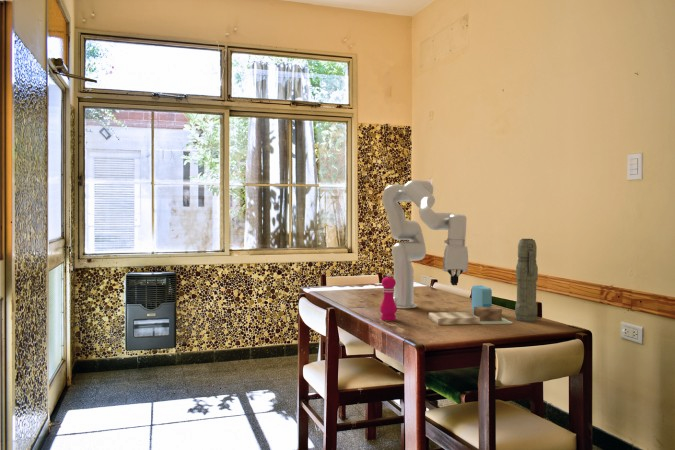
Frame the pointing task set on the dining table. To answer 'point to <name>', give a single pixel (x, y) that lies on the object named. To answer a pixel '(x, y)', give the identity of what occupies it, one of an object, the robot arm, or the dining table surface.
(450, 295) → the dining table surface
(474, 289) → the data package
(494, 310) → the walnut box
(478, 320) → the board
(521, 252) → the stone moai statue
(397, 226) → the robot arm
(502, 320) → the mat
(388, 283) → the pepper mill
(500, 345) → the dining table surface
